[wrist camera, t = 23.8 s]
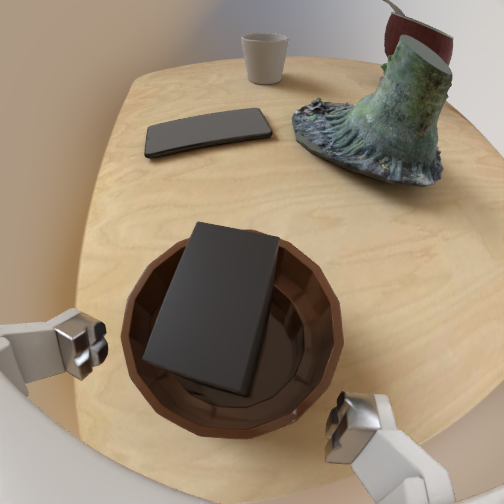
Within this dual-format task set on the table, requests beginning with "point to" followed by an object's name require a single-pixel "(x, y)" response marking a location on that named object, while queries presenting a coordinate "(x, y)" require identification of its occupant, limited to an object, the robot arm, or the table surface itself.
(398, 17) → the mate gourd
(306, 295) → the bowl
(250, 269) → the case
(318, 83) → the table surface
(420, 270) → the table surface
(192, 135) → the smartphone
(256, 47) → the cup
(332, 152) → the tree stump
